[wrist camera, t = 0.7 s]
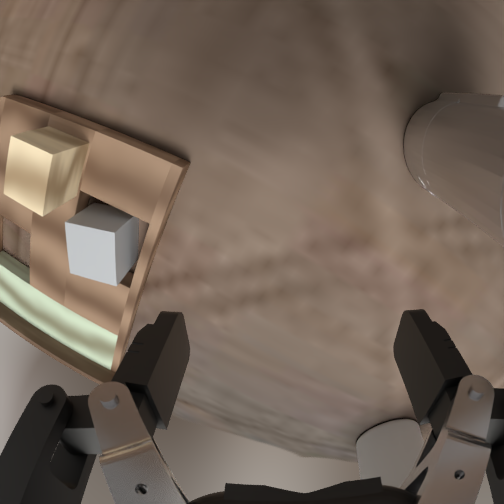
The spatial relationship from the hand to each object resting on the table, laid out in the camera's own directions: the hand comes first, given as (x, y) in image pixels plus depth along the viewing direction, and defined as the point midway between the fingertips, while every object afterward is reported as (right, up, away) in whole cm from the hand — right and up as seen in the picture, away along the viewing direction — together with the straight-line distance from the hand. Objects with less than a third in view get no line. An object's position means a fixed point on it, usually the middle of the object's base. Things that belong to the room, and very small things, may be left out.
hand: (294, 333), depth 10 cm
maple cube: (-20, +12, +13) cm, 26 cm away
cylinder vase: (+24, -31, +35) cm, 52 cm away
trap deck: (-24, +4, +20) cm, 32 cm away
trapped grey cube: (-16, +5, +19) cm, 26 cm away
